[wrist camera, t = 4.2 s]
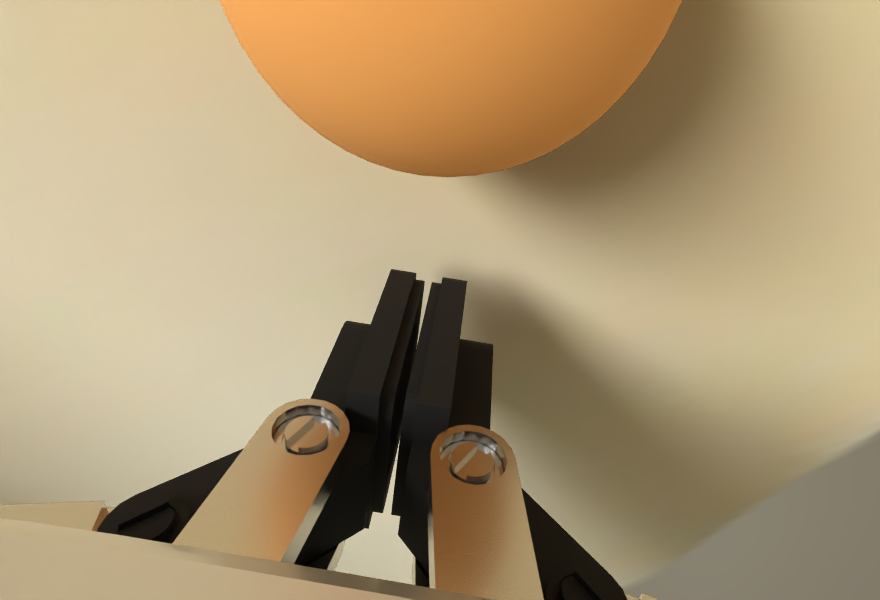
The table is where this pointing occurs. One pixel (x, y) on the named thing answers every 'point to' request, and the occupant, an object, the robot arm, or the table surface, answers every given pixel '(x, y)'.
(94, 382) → the table surface
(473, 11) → the ball
